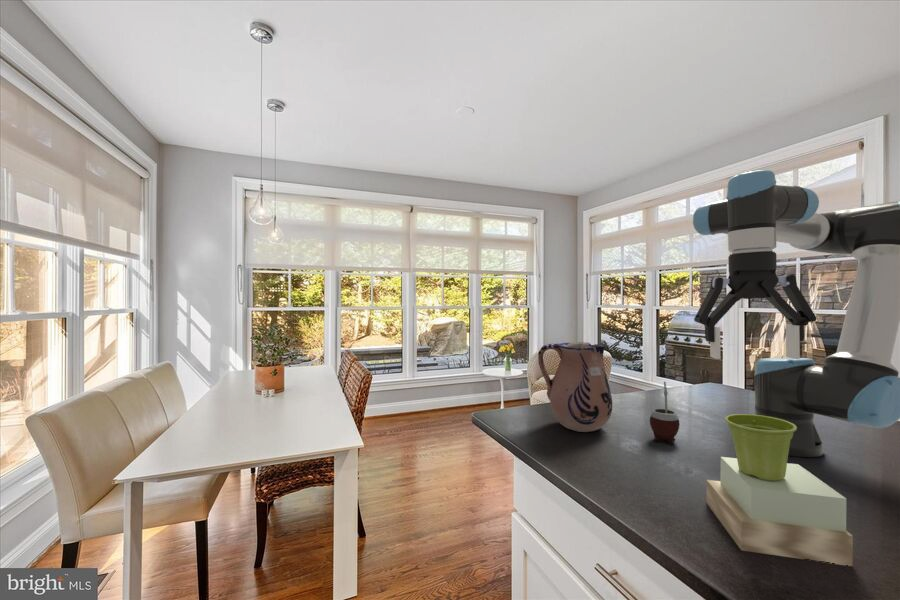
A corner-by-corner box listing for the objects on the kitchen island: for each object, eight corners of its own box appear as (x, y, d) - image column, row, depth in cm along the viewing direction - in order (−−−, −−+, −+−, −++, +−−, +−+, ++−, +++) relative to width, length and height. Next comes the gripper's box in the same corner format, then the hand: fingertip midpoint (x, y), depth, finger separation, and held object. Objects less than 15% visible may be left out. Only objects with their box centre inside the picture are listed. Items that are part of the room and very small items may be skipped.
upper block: (798, 492, 68) (798, 464, 68) (846, 532, 57) (846, 498, 57) (720, 483, 72) (720, 456, 72) (751, 519, 60) (751, 487, 60)
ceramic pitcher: (619, 440, 105) (619, 348, 104) (540, 435, 108) (540, 347, 108) (604, 419, 122) (605, 341, 122) (536, 416, 126) (537, 340, 125)
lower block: (794, 516, 70) (794, 489, 70) (852, 569, 56) (852, 535, 56) (706, 505, 73) (706, 479, 73) (741, 553, 60) (741, 521, 60)
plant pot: (814, 488, 59) (811, 431, 59) (745, 484, 61) (743, 429, 61) (776, 463, 68) (773, 414, 69) (717, 460, 70) (715, 413, 70)
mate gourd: (662, 446, 100) (663, 389, 100) (641, 436, 108) (642, 382, 108) (687, 444, 102) (687, 388, 101) (664, 433, 109) (665, 381, 109)
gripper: (811, 250, 77) (813, 354, 78) (675, 256, 83) (677, 354, 83) (841, 246, 70) (842, 361, 71) (689, 253, 75) (692, 361, 76)
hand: (753, 358), depth 77 cm, fingers open, 13 cm apart
